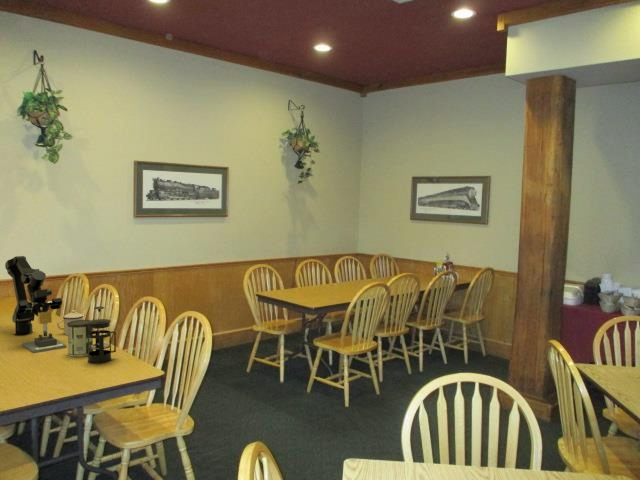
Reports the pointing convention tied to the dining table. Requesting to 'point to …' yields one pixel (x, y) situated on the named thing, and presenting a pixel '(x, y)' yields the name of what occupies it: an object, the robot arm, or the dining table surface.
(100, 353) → the french press
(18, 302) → the robot arm
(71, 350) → the coffee can
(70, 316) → the teacup with lid
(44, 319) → the lever
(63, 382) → the dining table surface
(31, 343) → the switch board
